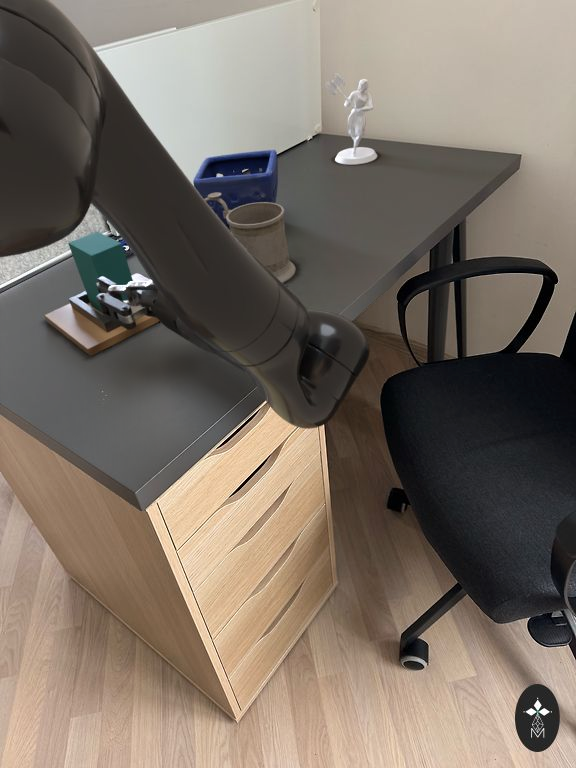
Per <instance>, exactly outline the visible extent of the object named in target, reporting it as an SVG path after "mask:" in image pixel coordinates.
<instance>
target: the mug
mask: <svg viewBox="0 0 576 768" xmlns="http://www.w3.org/2000/svg"><path fill="white" fill-rule="evenodd" d="M220 195H221V193H218V192H217V193H211V194H209V195H208V198H206V199H204V200H205V201H206V202H208V201H210V200H216V201H219V202H220V203H221V204H222V206H223V207H224V210H225V211H223V216H224V218H226V219H227V223H228V224H229V227H230V231H231V232H232V233H233V234H234V235H235V237H236V238H237V239H238V240H239V241H240V242H241V243H242V244H243V245H244V247H245V248H246V249H247V250H248V251H249V252H250V253H251V254H252V255H253V256H254V257H255V258H256V259H257V260H258V261H260V262H261V263H262V264H263V265H264V266H265V267H266V268H267V269H268V270H269V271H270V272H271V273H272V274H273V275H274V276H275V277H276V278H277V279H278V280H279V281H280V282H281V283H282V284H284V283H285V282H287V281H289V280H290V279H292V277H293V276H295V273H296V271H297V270H296V269H297V268H296V266H295V263H293V262H292V261H291V259H290V257H289V252H288V246H287V236H286V226H285V219H284V215H285V209H284V207H283V206H282V205H281V204H279V203H270V202H256V203H250V204H246V205H242V206H239V207H237V208H235V209H233V210H228V207H227V205H226V203H225V202H224V201H223V200H222V199H221V198H219V197H218V196H220Z"/></svg>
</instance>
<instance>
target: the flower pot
mask: <svg viewBox="0 0 576 768" xmlns="http://www.w3.org/2000/svg"><path fill="white" fill-rule="evenodd" d="M278 162H279V161H278V152H277V150H276V149H266V150H265V149H264V150H257V151H255V150H254V151H247V152H246V151H245V152H238V153H237V152H236V153H229V154H221V155H215V156H210V157H209V156H208V157H206V158H204V160H203V161H202V163H201V164H200V166H199V168H198V169H197V172H196V174H195V176H194V177H193V181H192V184H193V186H194V187H195V188H196V190H197V191H198V192H199V193H200V195H201V196H202V197H203V198H204V199H206V198H208V195H209V194H211V193H217V192H218V193H221V195H220V196H218V197H219V198H221V199H222V200H223V201H224V202H225V203H226V205H227V207H228V210H233V209H235V208H237V207H239V206H242V205H246V204H250V203H256V202H270V203H276V202H277V196H278V195H277V194H278V187H279V186H278V185H279V163H278ZM260 169H261V170H260ZM244 170H248V172H249V174H244V173H243V171H244ZM218 175H222V176H218ZM207 203H208V205H209V206H210V207H211V208H212V210H213V211H214V212H215V213H216V214H217V216H218V217H219V218H220V219H221V220H222V222H223V223H224V224H225V225H226V226H227V227H228V229H229V230H230V227H229V224H228V223H227V219H226V218H224V216H223V211H225V210H224V207H223V206H222V204H221V203H220V202H219V201H216V200H210V201H208V202H207ZM276 204H277V203H276Z"/></svg>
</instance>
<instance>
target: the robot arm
mask: <svg viewBox="0 0 576 768" xmlns="http://www.w3.org/2000/svg"><path fill="white" fill-rule="evenodd" d="M91 206H93V207H94V208H95V210H96V211H98V212H99V213H100V214H101V216H102V217H103V218H104V219H105V220H106V221H107V222H108V223H109V224H110V225H111V226H112V228H113V229H114V230H115V231H116V233H117V234H118V235H119V236H120V237H121V239H122V240H123V241H124V242H125V244H126V245H127V246H128V248H129V249H130V251H131V252H132V253H133V255H134V256H135V258H136V259H137V261H138V262H139V264H140V265H141V267H142V268H143V270H144V271H145V273H146V274H147V276H148V277H149V279H150V281H131V282H129V283H128V285H117V284H115V283H114V282H112V281H110V280H109V279H107V278H105V277H103V276H102V277H100V278H98V279H97V281H98V283H96V285H97V288H98V291H99V295H97V300H98V302H99V304H100V307H101V310H102V314H103V316H104V317H106V318H108V319H109V320H111V321H113V322H115V323H117V324H118V325H120V326H122V327H124V328H126V329H128V330H130V329H134V328H135V327H136V326H137V325H136V322H135V320H137V319H139V318H140V317H142V316H144V315H146V316H149V317H156V318H158V319H159V320H160V321H159V322H160V323H161V324H162V325H163V326H164V327H166V329H169V330H170V331H172V332H173V333H175V334H176V335H178V336H180V337H181V338H183V339H184V340H186V341H188V342H190V343H192V345H195V346H196V347H198V348H200V349H201V350H203V351H205V352H207V353H210V354H212V355H213V354H214V355H216V356H217V357H218V358H220V359H222V360H224V361H226V362H227V363H229V364H231V365H232V366H234V367H236V368H237V369H239V370H240V371H242V372H245V373H246V374H247V375H248V376H249V377H250V379H251V380H252V382H253V383H254V385H255V386H256V388H257V390H258V392H259V393H260V395H261V396H262V398H263V399H264V400H265V402H266V403H267V404H268V407H270V408H271V409H272V411H274V413H275V414H277V416H279V417H280V418H281V419H282V420H283V421H285V422H287V423H288V424H290V425H291V426H294V427H296V428H300V429H306V430H309V429H311V430H312V429H317V428H320V427H322V426H324V425H326V424H327V423H329V422H330V421H331V419H332V418H334V416H335V414H337V413H336V412H337V411H338V409H339V408H340V406H341V405H342V403H343V401H344V399H345V398H346V397H347V395H348V393H349V392H350V390H351V389H352V387H353V386H354V384H355V382H356V380H357V379H358V378H359V376H360V374H361V373H362V371H363V369H364V367H365V366H366V365H367V363H368V360H369V358H370V353H371V347H370V343H369V340H368V337H367V336H366V334H365V332H364V331H363V329H362V328H361V327H360V326H359V325H358V324H356V323H355V322H353V321H352V320H350V319H349V318H347V317H345V316H343V315H341V314H338V313H334V312H330V311H325V310H319V309H308V308H306V306H305V305H304V304H303V302H302V301H301V300H300V299H299V298H298V297H297V295H295V294H294V293H293V292H292V291H291V290H290V289H289V288H288V287H287V286H285V284H284V283H281V282H280V281H279V280H278V279H277V278H276V277H275V276H274V275H273V274H272V273H271V272H270V271H269V270H268V269H267V268H266V267H265V266H264V265H263V264H262V263H261V262H260V261H258V260H257V259H256V258H255V257H254V256H253V255H252V254H251V253H250V252H249V251H248V250H247V249H246V248H245V247H244V245H243V244H242V243H241V242H240V241H239V240H238V239H237V238H236V237H235V235H234V234H233V233H232V232H231V231H230V230H229V229H228V227H227V226H226V225H225V224H224V223H223V222H222V220H221V219H220V218H219V217H218V216H217V214H216V213H215V212H214V211H213V210H212V208H211V207H210V206H209V205H208V203H207V202H206V201H205V200H204V198H203V197H202V196H201V195H200V193H199V192H198V191H197V190H196V188H195V187H194V184H193V182H192V181H190V179H189V178H188V176H187V175H186V174H185V172H183V170H182V168H181V166H179V164H178V163H177V162H176V160H175V159H174V158H173V157H172V156H171V154H170V153H169V152H168V150H167V148H165V146H164V145H163V143H162V142H161V141H160V140H159V138H158V137H157V135H155V133H154V132H153V130H152V129H151V128H150V127H149V125H148V123H147V122H146V121H145V119H144V118H143V117H142V115H141V113H140V112H139V111H138V110H137V108H136V107H135V105H134V104H133V102H132V101H131V99H130V97H128V95H127V94H126V92H125V91H124V90H123V88H122V87H121V85H120V84H119V82H118V81H117V79H116V77H114V75H113V74H112V72H111V71H110V69H109V68H108V67H107V65H106V64H105V62H104V61H103V59H102V58H101V57H100V56H99V55H98V53H97V52H96V51H95V49H94V48H93V46H92V45H91V43H89V41H88V39H86V37H85V36H84V34H82V33H81V31H80V30H79V29H78V28H77V27H76V25H75V24H74V23H73V22H72V21H71V19H70V18H68V16H67V15H66V14H65V13H64V12H62V10H60V8H58V7H57V5H55V4H54V2H52V1H51V0H0V258H5V257H12V256H17V255H22V254H27V253H30V252H34V251H38V250H41V249H44V248H48V247H49V246H52V245H54V244H56V243H58V242H59V241H62V240H64V239H66V238H67V237H68V236H70V235H71V234H72V233H73V232H75V230H76V229H77V228H78V227H79V226H80V225H81V224H82V222H83V221H84V220H85V218H86V215H87V214H88V212H89V209H90V207H91ZM137 290H142V292H141V297H140V299H139V296H138V293H137ZM121 294H126V295H127V297H128V300H123V299H122V296H121Z"/></svg>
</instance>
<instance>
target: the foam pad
mask: <svg viewBox="0 0 576 768" xmlns="http://www.w3.org/2000/svg"><path fill="white" fill-rule="evenodd" d="M68 247H69V249H70V252H71V255H72V258H73V260H74V263H75V266H76V268H77V271H78V273H79V276H80V279H81V282H82V284H83V287H84V291H86V293H87V295H88V298H89V301H90V303H91V306H92V307H94V308H95V309H97V310H98V311H100V312H101V313H102V310H101V307H100V304H99V302H98V300H97V295H99V291H98V288H97V285H96V283H98V281H97V279H98V278H100V277H102V276H103V277H105V278H107V279H109V280H110V281H112V282H114V283H115V284H117V285H128V283H129V282H131V281H133V279H132V273H131V270H130V267H129V266H130V265H129V263H128V261H127V258H126V253H125V251H124V247H123V244H122V243H121V242H119V241H117V240H116V239H113V238H111V237H109V236H107V235H106V234H103V233H101V232H99V231H95V232H92V233H90V234H87V235H85V236H82V237H79V238H77V239H74V240H71V241H69V242H68ZM121 296H122V299H123V300H128V297H127V295H126V294H121Z"/></svg>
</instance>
